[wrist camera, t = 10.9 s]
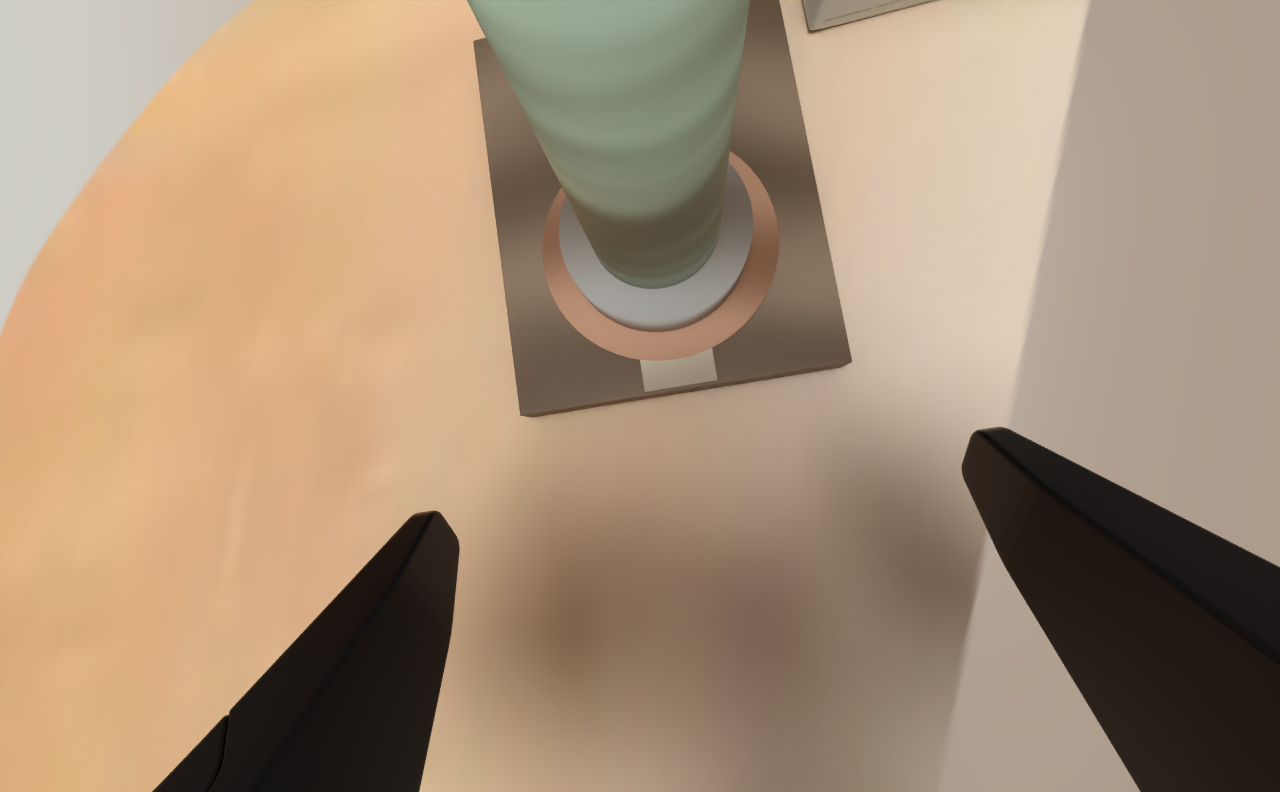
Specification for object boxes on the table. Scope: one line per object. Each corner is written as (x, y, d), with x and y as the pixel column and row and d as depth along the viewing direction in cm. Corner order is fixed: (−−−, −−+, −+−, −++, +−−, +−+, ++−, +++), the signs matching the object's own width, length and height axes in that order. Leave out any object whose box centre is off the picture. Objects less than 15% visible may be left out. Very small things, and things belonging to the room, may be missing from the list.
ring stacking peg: (755, 324, 16) (1043, -212, 3) (574, 339, 17) (132, -53, 4) (740, 150, 17) (922, -948, 4) (566, 170, 18) (160, -713, 4)
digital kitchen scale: (840, 367, 17) (878, 347, 14) (531, 417, 18) (494, 411, 15) (768, 1, 19) (785, -99, 15) (486, 65, 20) (442, -16, 16)
